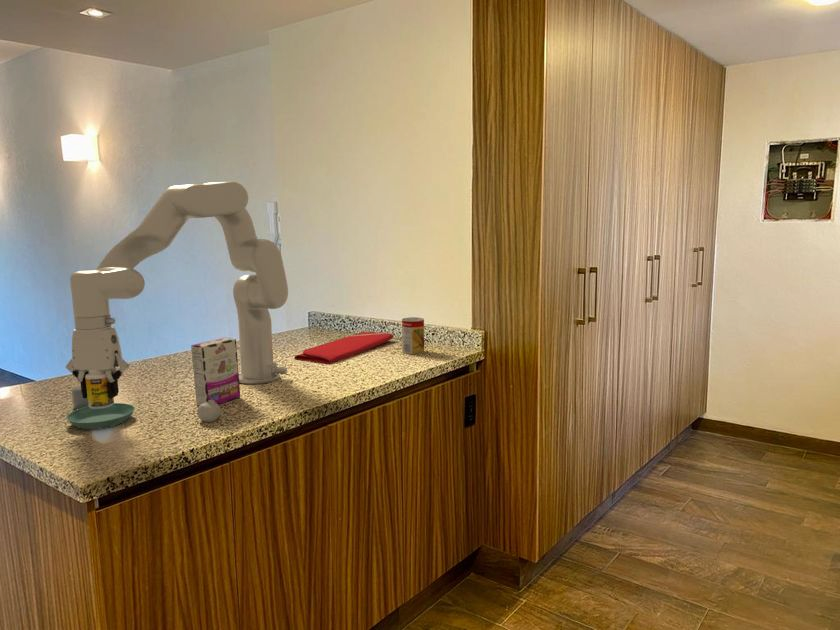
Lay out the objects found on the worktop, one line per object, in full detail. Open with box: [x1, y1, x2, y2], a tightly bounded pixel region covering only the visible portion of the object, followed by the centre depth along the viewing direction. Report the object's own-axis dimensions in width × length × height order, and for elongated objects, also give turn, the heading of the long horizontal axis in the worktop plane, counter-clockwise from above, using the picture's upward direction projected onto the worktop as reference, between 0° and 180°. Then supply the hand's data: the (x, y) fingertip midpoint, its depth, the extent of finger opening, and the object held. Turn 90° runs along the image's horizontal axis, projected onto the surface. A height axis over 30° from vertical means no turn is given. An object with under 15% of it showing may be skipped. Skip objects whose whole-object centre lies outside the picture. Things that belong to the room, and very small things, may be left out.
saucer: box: [66, 402, 136, 430], centre depth 149 cm, size 15×15×3 cm
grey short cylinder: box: [71, 385, 88, 410], centre depth 162 cm, size 7×7×5 cm
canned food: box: [401, 316, 425, 355], centre depth 220 cm, size 8×8×12 cm
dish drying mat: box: [294, 331, 394, 365], centre depth 226 cm, size 16×41×4 cm, turn 151°
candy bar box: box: [191, 337, 241, 407], centre depth 163 cm, size 11×5×16 cm, turn 148°
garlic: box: [196, 400, 222, 423], centre depth 149 cm, size 6×5×5 cm
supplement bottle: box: [85, 370, 115, 409], centre depth 148 cm, size 6×6×10 cm
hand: (100, 396), depth 149 cm, fingers open, 5 cm apart
